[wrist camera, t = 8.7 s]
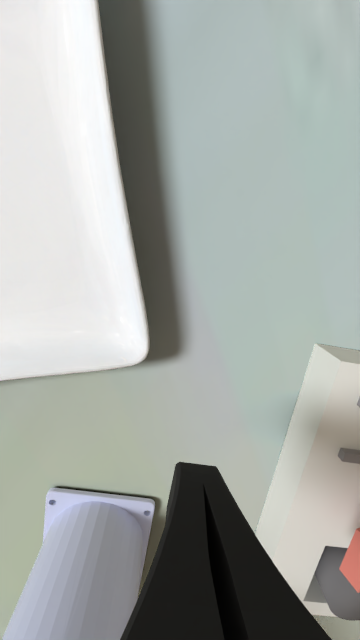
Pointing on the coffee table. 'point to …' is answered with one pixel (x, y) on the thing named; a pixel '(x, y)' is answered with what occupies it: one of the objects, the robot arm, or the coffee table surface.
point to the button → (337, 584)
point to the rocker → (352, 562)
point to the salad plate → (62, 200)
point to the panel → (316, 475)
